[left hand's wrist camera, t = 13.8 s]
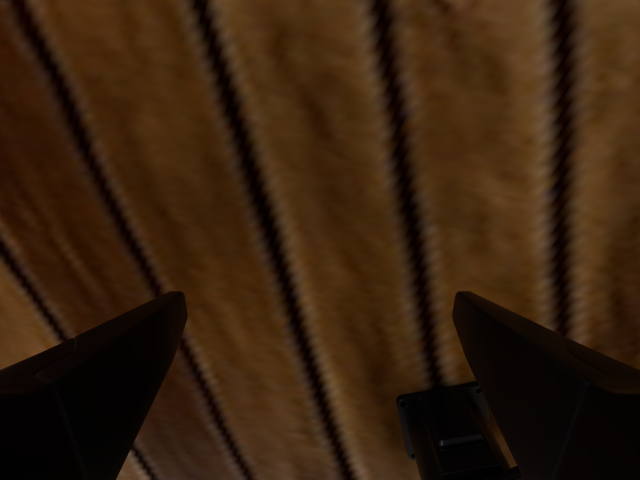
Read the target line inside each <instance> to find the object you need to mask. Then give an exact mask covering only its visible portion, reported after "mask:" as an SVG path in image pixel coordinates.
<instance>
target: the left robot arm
mask: <svg viewBox="0 0 640 480" xmlns="http://www.w3.org/2000/svg"><path fill="white" fill-rule="evenodd" d="M187 316H188V314H187V307H186V301H185V295H184V293H183V292H181V291H171V292H168V293H166V294H164V295H162V296H160V297H157V298H155V299H153V300H151V301H149V302H147V303H145V304H143V305H141V306H139V307H137V308H134V309H132V310H130V311H128V312H126V313H124V314H122V315H120V316H118V317H116V318H113V319H111V320H109V321H107V322H105V323H103V324H101V325H99V326H97V327H95V328H92V329H90V330H88V331H86V332H84V333H82V334H80V335H78V336H76V337H75V338H71V339H69V340H67V341H65V342H63V343H61V344H59V345H57V346H54V347H52V348H50V349H48V350H46V351H44V352H41V353H39V354H37V355H34V356H32V357H30V358H27V359H25V360H23V361H20V362H18V363H16V364H13V365H11V366H9V367H6V368H4V369H1V370H0V480H116V478H117V476H118V474H119V472H120V470H121V468H122V466H123V464H124V462H125V460H126V458H127V455H128V453H129V451H130V449H131V447H132V445H133V443H134V441H135V439H136V437H137V435H138V433H139V430H140V428H141V426H142V424H143V422H144V420H145V418H146V416H147V414H148V412H149V410H150V407H151V405H152V403H153V401H154V399H155V397H156V395H157V393H158V391H159V389H160V387H161V384H162V382H163V380H164V378H165V376H166V374H167V372H168V370H169V368H170V366H171V363H172V361H173V359H174V356H175V354H176V351H177V348H178V345H179V342H180V339H181V336H182V333H183V330H184V327H185V324H186V321H187ZM452 316H453V321H454V324H455V327H456V330H457V333H458V336H459V339H460V342H461V345H462V348H463V351H464V354H465V356H466V359H467V361H468V363H469V366H470V368H471V370H472V372H473V374H474V376H475V378H476V380H477V382H472V383H466V384H461V385H455V386H450V387H444V388H439V389H433V390H428V391H423V392H417V393H412V394H406V395H401V396H399V397H398V398H397V399H396V403H397V407H398V412H399V416H400V421H401V426H402V430H403V435H404V440H405V444H406V449H407V453H408V457H409V458H410V459H413V460H416V462H417V466H418V470H419V473H420V477H421V480H640V370H639V369H636V368H634V367H631V366H629V365H627V364H624V363H622V362H620V361H617V360H615V359H613V358H610V357H608V356H606V355H603V354H601V353H599V352H596V351H594V350H592V349H590V348H588V347H586V346H583V345H581V344H579V343H577V342H575V341H573V340H571V339H569V338H565V337H564V336H562V335H560V334H558V333H556V332H554V331H552V330H550V329H548V328H545V327H543V326H541V325H539V324H537V323H535V322H533V321H531V320H529V319H527V318H524V317H522V316H520V315H518V314H516V313H514V312H512V311H510V310H508V309H506V308H503V307H501V306H499V305H497V304H495V303H493V302H491V301H489V300H487V299H485V298H483V297H480V296H478V295H476V294H474V293H472V292H469V291H459V292H457V293H456V295H455V301H454V307H453V314H452ZM478 388H479V389H478ZM402 402H404V403H402ZM488 405H489V407H490V410H491V412H492V414H493V416H494V418H495V420H496V422H497V424H498V426H499V428H500V430H501V433H502V435H503V437H504V439H505V441H506V443H507V445H508V447H509V449H510V451H511V453H512V455H513V458H514V460H515V462H516V464H517V466H516V467H513V468H510V466H509V464H508V462H507V460H506V458H505V456H504V454H503V452H502V450H501V448H500V446H499V444H498V442H497V441H496V439H495V437H494V435H493V433H492V431H491V429H490V425H489V414H488Z"/></svg>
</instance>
